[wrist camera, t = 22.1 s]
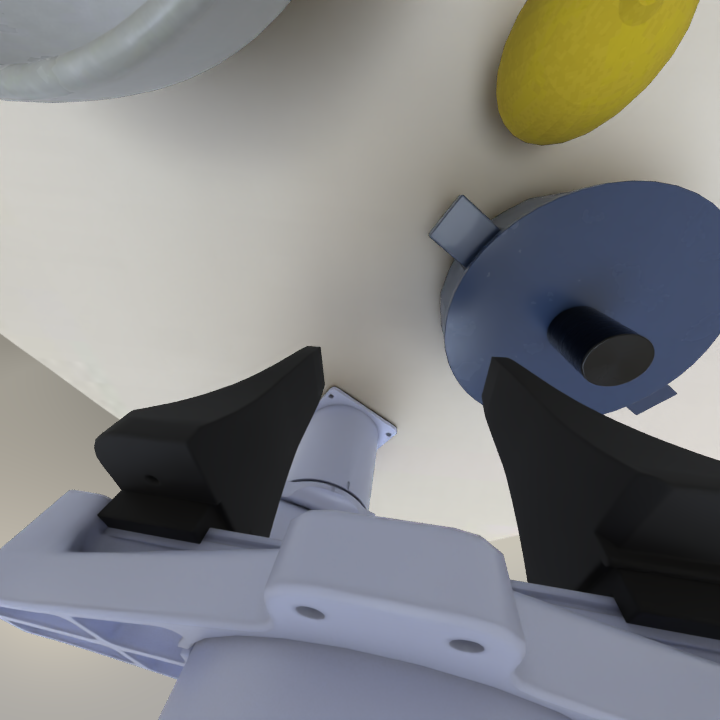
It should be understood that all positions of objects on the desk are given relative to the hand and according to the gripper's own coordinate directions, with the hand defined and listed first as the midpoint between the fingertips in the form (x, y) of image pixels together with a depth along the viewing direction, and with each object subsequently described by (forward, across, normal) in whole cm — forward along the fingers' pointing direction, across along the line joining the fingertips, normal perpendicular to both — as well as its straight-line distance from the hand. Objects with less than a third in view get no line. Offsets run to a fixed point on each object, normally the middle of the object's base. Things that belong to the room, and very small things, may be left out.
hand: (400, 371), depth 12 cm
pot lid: (+6, -9, 0) cm, 11 cm away
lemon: (+11, -6, -11) cm, 17 cm away
